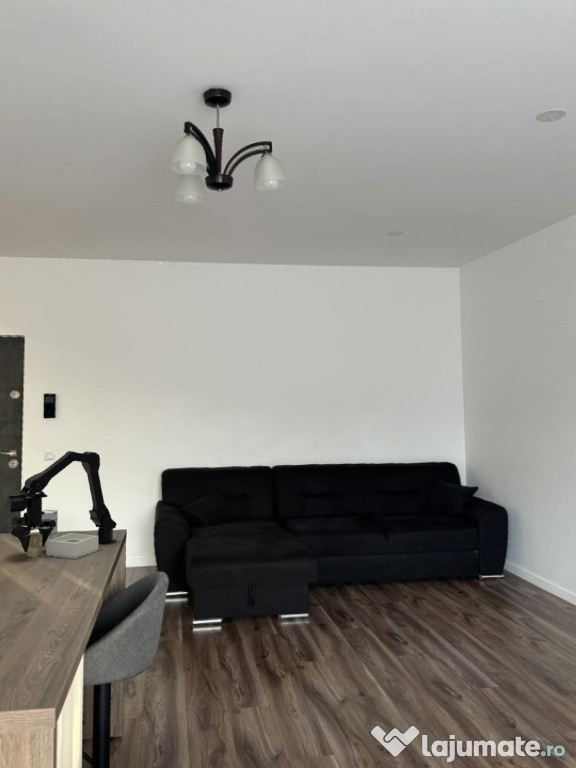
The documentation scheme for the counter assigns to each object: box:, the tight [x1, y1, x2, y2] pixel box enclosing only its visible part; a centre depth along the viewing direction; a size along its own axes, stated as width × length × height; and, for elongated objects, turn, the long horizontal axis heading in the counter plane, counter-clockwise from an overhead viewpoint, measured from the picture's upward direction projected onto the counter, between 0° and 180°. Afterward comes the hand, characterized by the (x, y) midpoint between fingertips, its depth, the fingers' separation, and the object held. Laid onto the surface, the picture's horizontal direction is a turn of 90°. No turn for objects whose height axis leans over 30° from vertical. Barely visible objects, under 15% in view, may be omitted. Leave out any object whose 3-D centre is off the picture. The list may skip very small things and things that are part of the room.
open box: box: [45, 532, 99, 560], centre depth 252 cm, size 14×14×6 cm
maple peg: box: [26, 533, 43, 558], centre depth 249 cm, size 4×4×8 cm
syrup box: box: [38, 509, 59, 547], centre depth 266 cm, size 6×6×14 cm
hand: (34, 549), depth 249 cm, fingers open, 9 cm apart
